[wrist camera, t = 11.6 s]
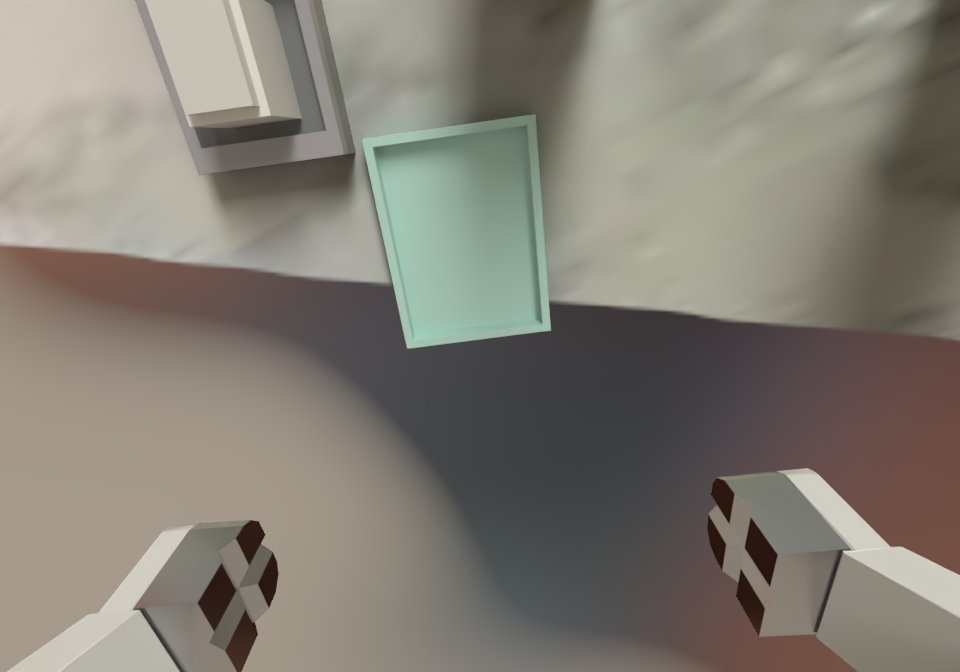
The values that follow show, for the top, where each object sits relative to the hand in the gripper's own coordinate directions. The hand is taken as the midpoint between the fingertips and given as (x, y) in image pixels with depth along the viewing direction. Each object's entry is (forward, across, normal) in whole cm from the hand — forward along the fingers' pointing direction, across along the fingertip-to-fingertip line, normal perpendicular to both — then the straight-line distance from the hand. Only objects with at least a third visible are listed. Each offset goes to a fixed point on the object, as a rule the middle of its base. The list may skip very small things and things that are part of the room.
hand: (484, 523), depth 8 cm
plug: (+26, +13, -11) cm, 31 cm away
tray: (+28, +1, +1) cm, 28 cm away
